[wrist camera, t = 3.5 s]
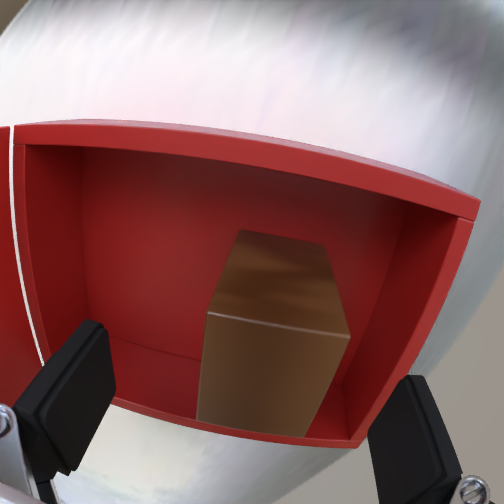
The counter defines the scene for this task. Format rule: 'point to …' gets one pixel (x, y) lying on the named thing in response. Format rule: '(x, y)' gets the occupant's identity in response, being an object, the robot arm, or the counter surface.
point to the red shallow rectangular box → (225, 253)
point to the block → (271, 337)
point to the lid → (12, 301)
